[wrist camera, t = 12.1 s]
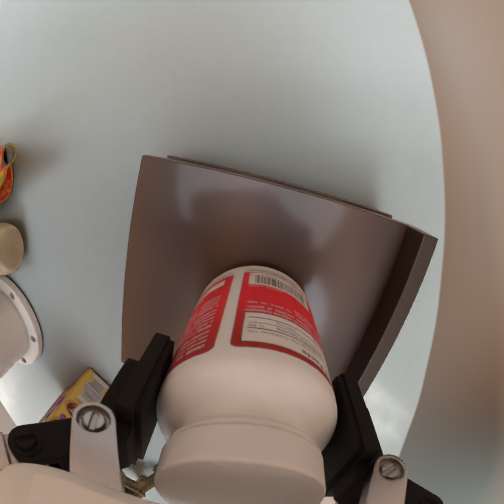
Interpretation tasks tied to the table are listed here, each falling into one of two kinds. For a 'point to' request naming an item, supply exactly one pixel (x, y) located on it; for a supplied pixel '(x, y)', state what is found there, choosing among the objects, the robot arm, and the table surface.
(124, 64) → the table surface
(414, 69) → the table surface
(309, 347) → the pill bottle
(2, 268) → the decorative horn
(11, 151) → the magic lamp
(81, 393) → the candy box
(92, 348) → the table surface
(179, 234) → the plate
